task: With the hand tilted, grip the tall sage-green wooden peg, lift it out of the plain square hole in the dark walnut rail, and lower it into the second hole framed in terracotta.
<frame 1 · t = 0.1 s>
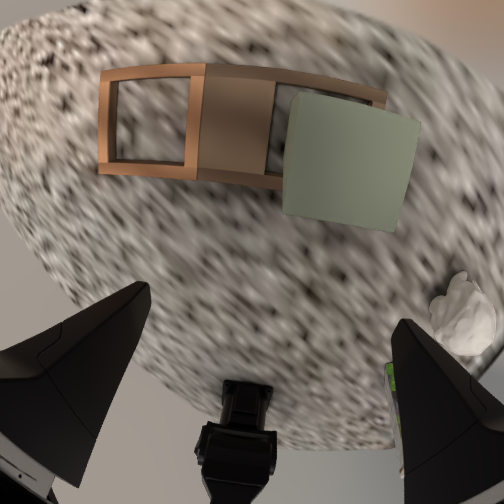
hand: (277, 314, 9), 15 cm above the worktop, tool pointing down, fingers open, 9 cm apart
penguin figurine: (458, 299, 26), on the worktop
syrup box: (403, 370, 31), on the worktop
sage peg: (316, 134, 20), resting in walnut rail
walnut rail: (230, 122, 20), on the worktop
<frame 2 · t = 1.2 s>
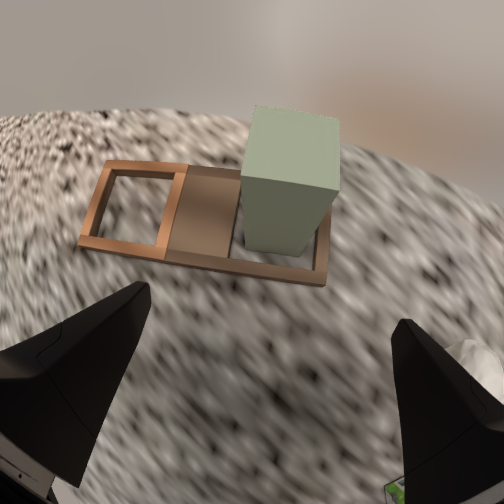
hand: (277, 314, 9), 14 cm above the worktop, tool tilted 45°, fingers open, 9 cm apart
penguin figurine: (451, 386, 21), on the worktop
syrup box: (408, 490, 18), on the worktop
sage peg: (275, 228, 25), resting in walnut rail
walnut rail: (201, 217, 25), on the worktop
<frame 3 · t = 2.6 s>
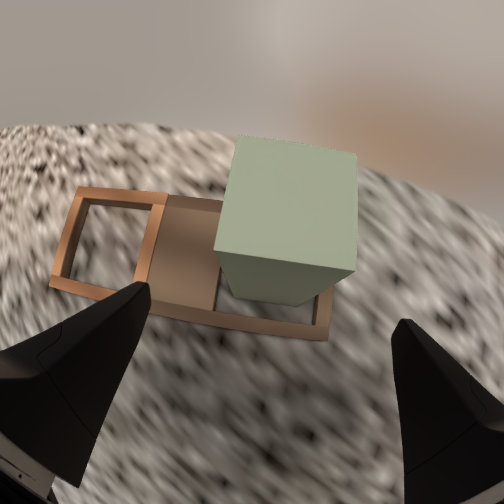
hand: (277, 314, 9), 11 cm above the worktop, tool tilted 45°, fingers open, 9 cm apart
sage peg: (270, 271, 21), resting in walnut rail
walnut rail: (183, 258, 21), on the worktop
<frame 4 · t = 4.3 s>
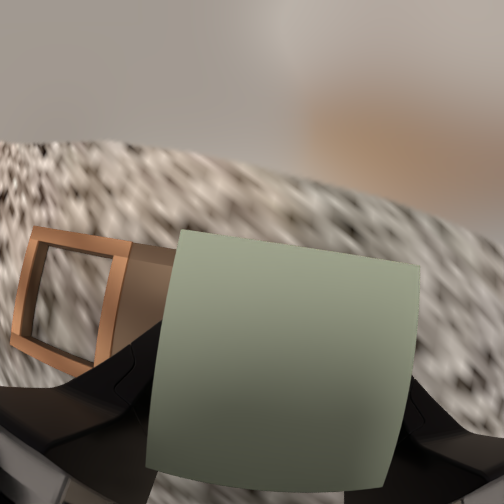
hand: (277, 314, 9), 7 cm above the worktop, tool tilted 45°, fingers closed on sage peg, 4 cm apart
sage peg: (262, 344, 16), resting in walnut rail, touching gripper
walnut rail: (154, 324, 16), on the worktop
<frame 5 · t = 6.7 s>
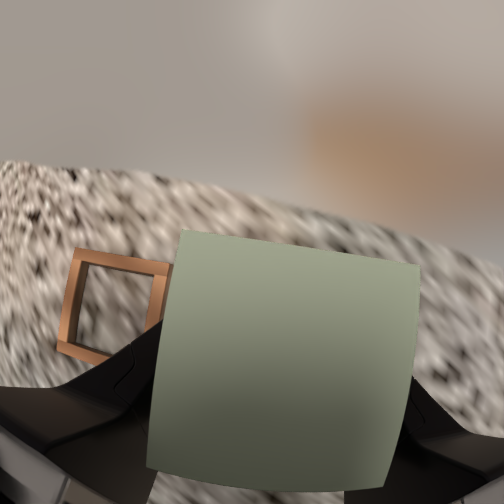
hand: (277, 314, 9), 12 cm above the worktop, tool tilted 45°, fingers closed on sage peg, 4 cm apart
sage peg: (262, 344, 16), point 5 cm above the worktop, touching gripper
walnut rail: (188, 329, 21), on the worktop
when the fingers open (8 cm above the worktop, at t = 9.2 s): sage peg stays where it is, resting in walnut rail.
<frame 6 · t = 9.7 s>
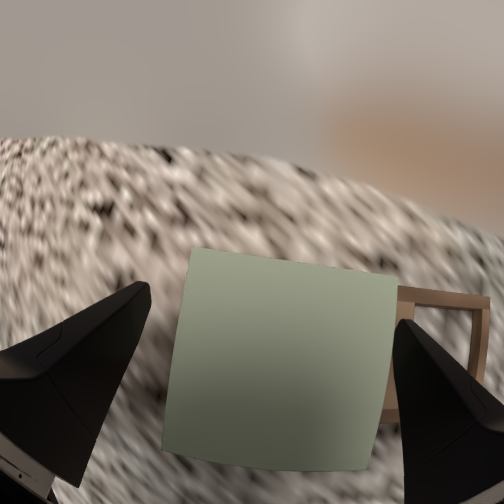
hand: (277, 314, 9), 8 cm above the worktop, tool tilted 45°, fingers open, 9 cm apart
sage peg: (262, 343, 17), resting in walnut rail
walnut rail: (362, 353, 17), on the worktop
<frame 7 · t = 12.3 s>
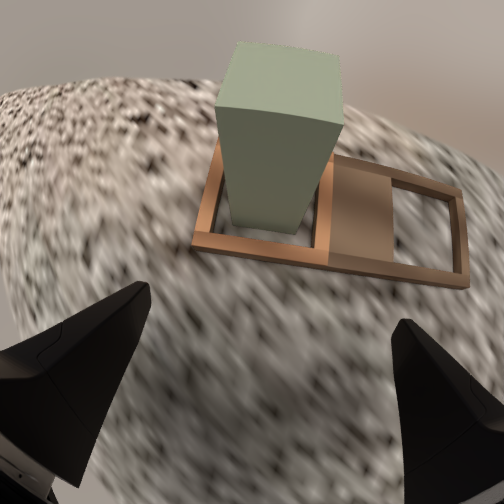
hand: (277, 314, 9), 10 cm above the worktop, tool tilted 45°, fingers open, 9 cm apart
sage peg: (268, 201, 21), resting in walnut rail
walnut rail: (352, 215, 21), on the worktop
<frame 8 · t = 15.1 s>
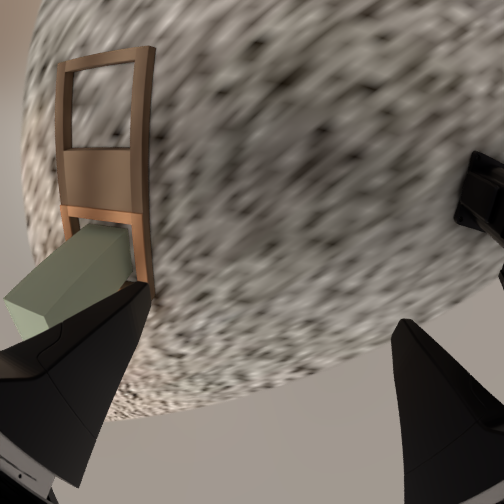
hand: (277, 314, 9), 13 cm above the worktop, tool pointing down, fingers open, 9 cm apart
sage peg: (110, 247, 25), resting in walnut rail
walnut rail: (103, 181, 21), on the worktop
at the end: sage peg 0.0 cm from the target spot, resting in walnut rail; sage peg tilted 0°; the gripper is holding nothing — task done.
